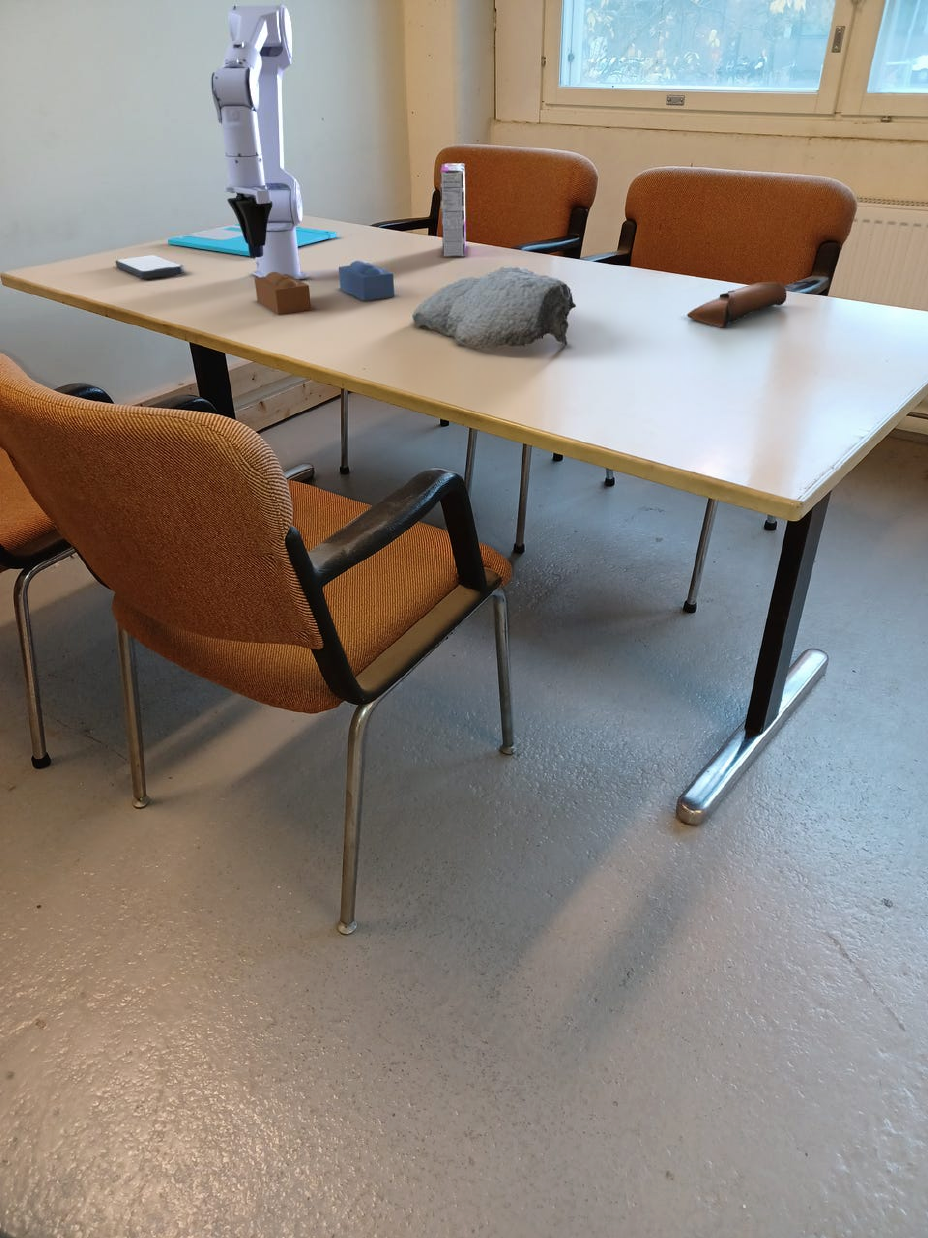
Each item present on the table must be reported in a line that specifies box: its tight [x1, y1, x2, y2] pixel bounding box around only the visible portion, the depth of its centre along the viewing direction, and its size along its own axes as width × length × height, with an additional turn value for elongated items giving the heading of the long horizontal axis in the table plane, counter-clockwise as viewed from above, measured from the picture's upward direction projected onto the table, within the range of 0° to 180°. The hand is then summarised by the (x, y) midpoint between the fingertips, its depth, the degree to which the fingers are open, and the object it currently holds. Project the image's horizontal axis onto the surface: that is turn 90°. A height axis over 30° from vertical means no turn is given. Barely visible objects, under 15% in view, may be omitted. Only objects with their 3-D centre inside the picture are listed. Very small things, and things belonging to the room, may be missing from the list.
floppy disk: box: [167, 223, 338, 257], centre depth 200 cm, size 26×28×1 cm
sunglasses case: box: [686, 281, 788, 328], centre depth 146 cm, size 18×7×7 cm, turn 135°
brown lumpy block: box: [254, 272, 312, 315], centre depth 152 cm, size 10×6×5 cm, turn 31°
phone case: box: [115, 254, 185, 280], centre depth 176 cm, size 9×2×16 cm
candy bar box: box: [439, 162, 467, 258], centre depth 185 cm, size 11×5×16 cm, turn 179°
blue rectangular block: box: [338, 260, 395, 302], centre depth 159 cm, size 10×6×5 cm, turn 31°
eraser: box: [245, 223, 263, 258], centre depth 150 cm, size 2×2×7 cm
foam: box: [411, 266, 577, 349], centre depth 137 cm, size 28×21×9 cm
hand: (255, 244), depth 151 cm, fingers closed on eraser, 3 cm apart
